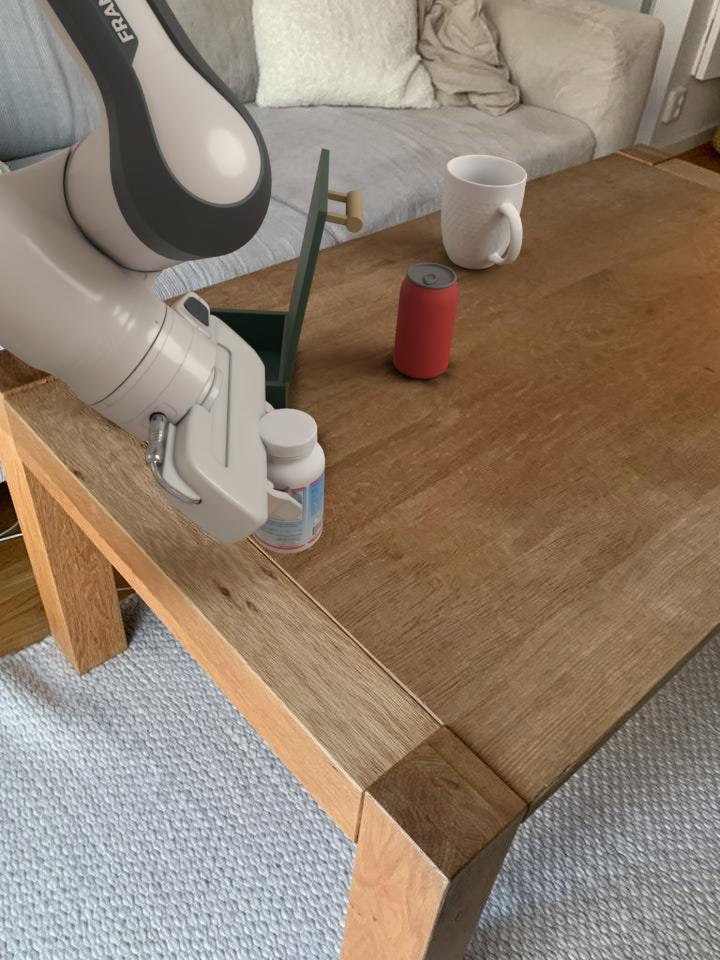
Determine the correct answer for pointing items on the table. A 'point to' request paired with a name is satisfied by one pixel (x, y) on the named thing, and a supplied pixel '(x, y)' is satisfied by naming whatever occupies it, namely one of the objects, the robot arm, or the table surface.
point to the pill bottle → (293, 478)
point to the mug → (482, 210)
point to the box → (263, 345)
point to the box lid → (316, 251)
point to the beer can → (425, 320)
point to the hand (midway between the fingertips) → (294, 478)
